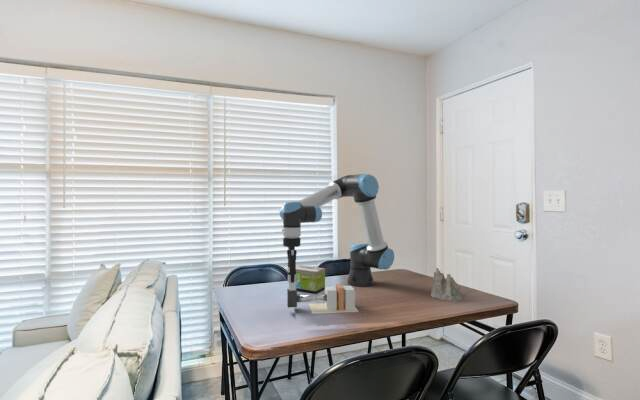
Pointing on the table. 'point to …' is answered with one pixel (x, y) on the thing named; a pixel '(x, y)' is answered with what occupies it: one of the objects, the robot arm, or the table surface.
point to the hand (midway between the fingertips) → (291, 286)
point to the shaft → (303, 298)
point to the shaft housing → (335, 301)
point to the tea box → (310, 280)
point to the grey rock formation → (445, 287)
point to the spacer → (340, 296)
